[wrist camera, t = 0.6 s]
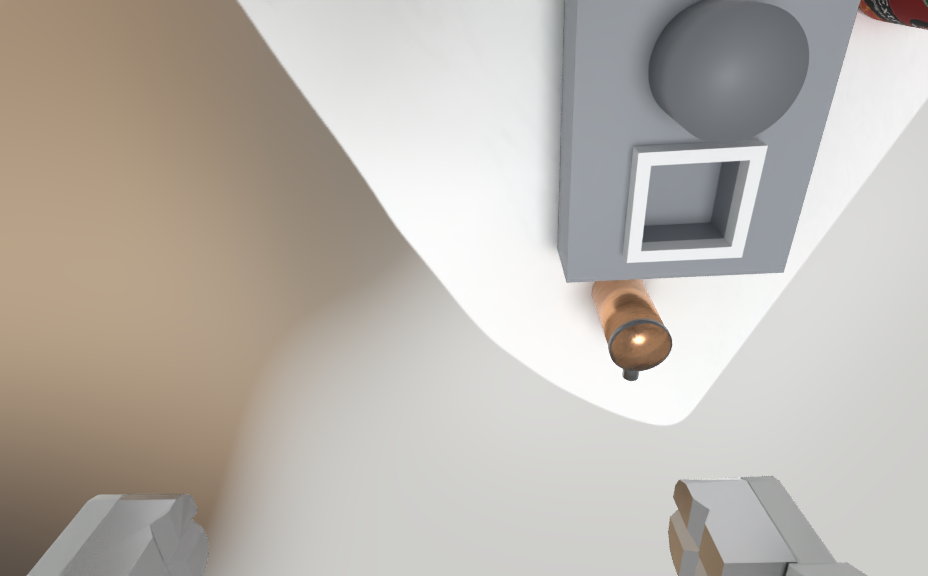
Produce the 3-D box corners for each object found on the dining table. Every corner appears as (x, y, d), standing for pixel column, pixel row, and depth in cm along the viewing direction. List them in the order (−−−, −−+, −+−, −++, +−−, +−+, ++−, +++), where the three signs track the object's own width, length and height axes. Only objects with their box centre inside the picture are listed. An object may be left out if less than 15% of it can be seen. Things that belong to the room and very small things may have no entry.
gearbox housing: (565, -17, 40) (592, -6, 31) (818, -35, 39) (926, -30, 30) (557, 249, 52) (575, 316, 42) (752, 239, 51) (815, 305, 41)
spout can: (592, 269, 53) (612, 324, 45) (647, 266, 52) (676, 321, 45) (588, 330, 56) (605, 390, 49) (639, 328, 56) (664, 387, 49)
